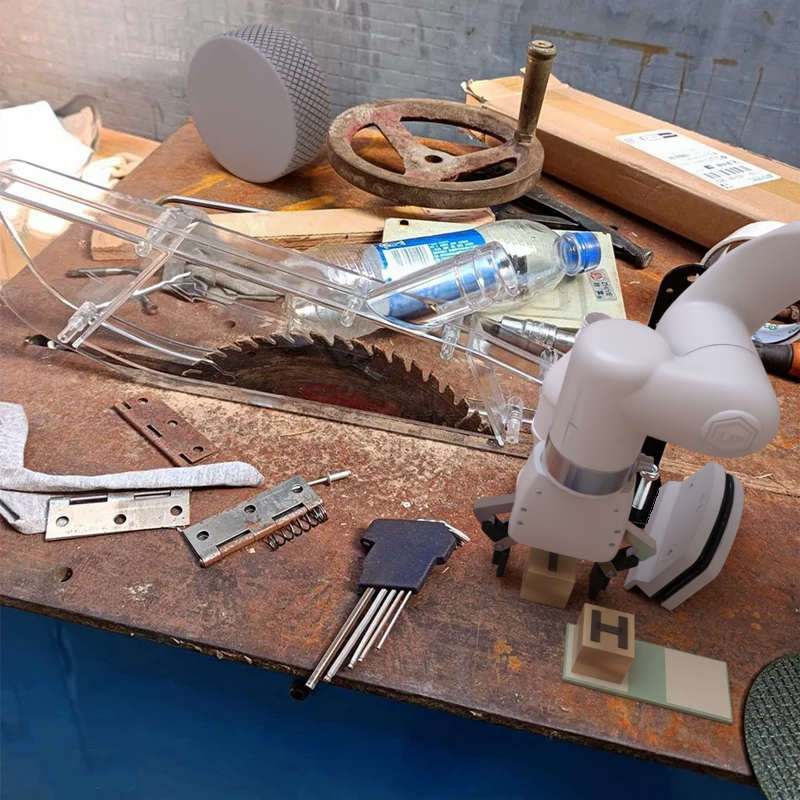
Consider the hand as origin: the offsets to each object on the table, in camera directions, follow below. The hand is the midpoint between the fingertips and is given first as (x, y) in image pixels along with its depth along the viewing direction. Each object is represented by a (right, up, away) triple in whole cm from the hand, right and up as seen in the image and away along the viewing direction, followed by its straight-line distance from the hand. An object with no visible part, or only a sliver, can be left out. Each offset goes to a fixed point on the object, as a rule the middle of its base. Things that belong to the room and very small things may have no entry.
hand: (546, 577), depth 76 cm
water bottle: (+2, +6, +9) cm, 11 cm away
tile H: (+4, -6, -6) cm, 9 cm away
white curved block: (+15, +1, +6) cm, 16 cm away
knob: (-41, +61, +68) cm, 100 cm away
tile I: (0, -1, +1) cm, 1 cm away
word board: (+8, -7, -6) cm, 12 cm away
